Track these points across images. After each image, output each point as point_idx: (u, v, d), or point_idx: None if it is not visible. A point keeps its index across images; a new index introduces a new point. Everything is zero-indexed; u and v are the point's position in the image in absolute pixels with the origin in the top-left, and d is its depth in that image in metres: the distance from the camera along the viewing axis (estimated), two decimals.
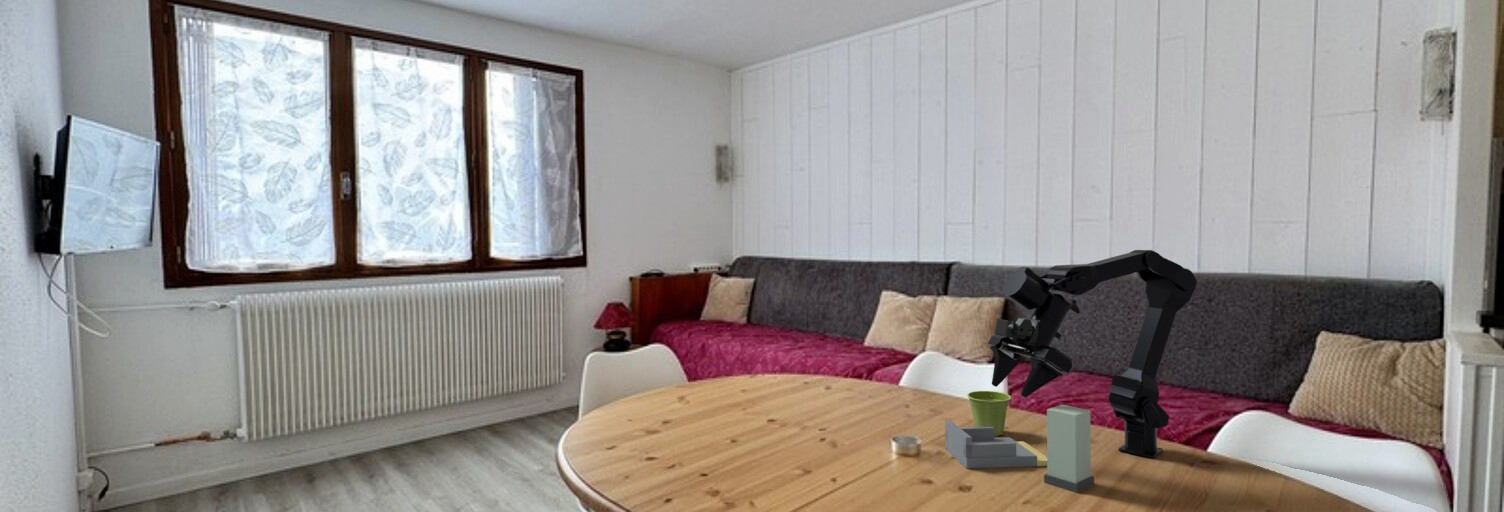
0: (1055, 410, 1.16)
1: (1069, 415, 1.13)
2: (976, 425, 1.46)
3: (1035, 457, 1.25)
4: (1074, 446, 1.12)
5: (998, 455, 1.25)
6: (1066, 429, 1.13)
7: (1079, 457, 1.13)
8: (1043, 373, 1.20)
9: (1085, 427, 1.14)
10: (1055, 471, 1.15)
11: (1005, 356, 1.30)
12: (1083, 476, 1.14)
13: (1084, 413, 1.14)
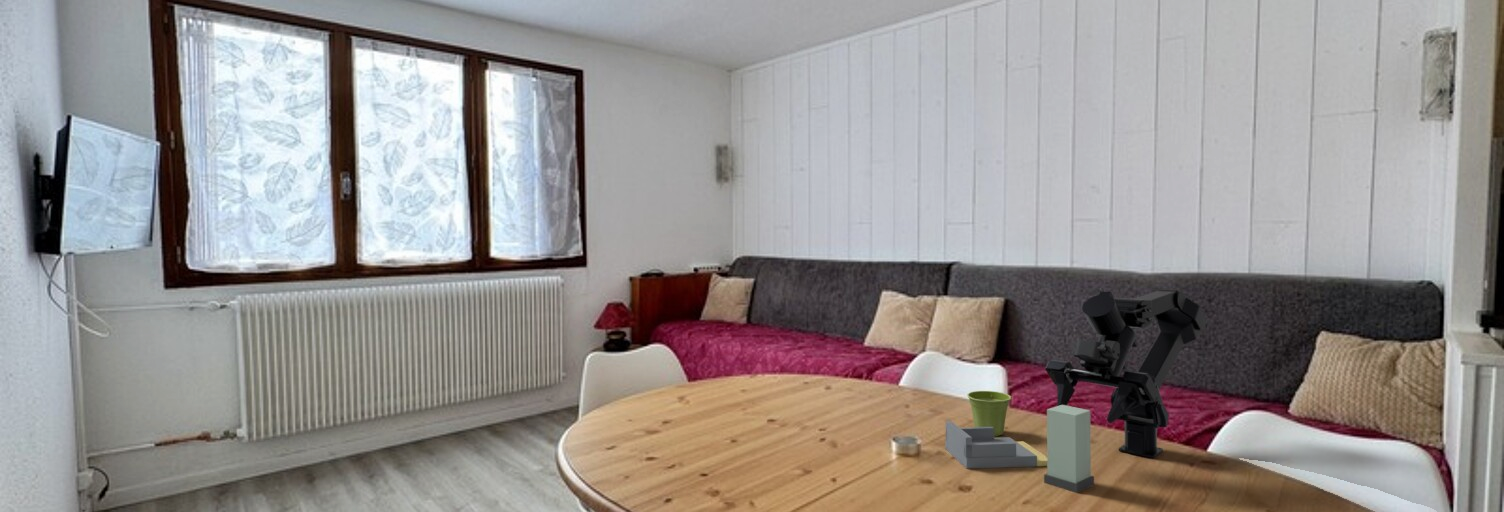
0: (1055, 410, 1.16)
1: (1069, 415, 1.13)
2: (976, 425, 1.46)
3: (1035, 457, 1.25)
4: (1074, 446, 1.12)
5: (998, 455, 1.25)
6: (1066, 429, 1.13)
7: (1079, 457, 1.13)
8: (1126, 399, 1.17)
9: (1085, 427, 1.14)
10: (1055, 471, 1.15)
11: (1067, 382, 1.25)
12: (1083, 476, 1.14)
13: (1084, 413, 1.14)
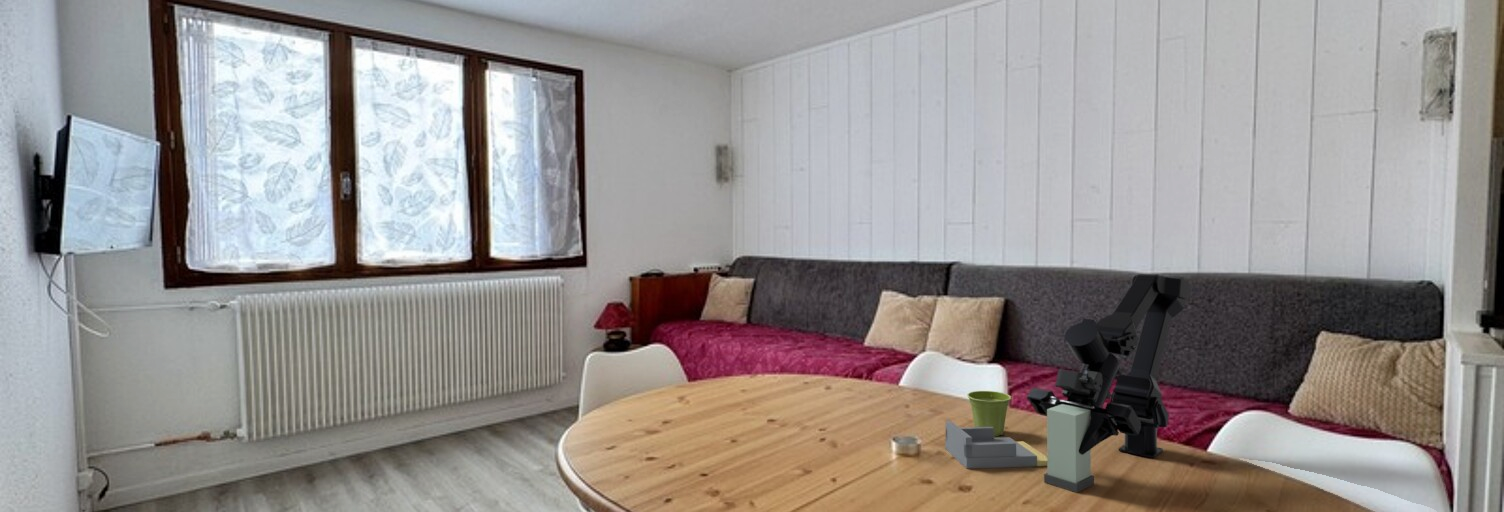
0: (1055, 410, 1.15)
1: (1069, 415, 1.13)
2: (976, 425, 1.46)
3: (1035, 457, 1.25)
4: (1074, 446, 1.12)
5: (998, 455, 1.25)
6: (1066, 429, 1.13)
7: (1079, 457, 1.13)
8: (1099, 430, 1.14)
9: (1085, 427, 1.14)
10: (1055, 470, 1.15)
11: None
12: (1083, 476, 1.14)
13: (1084, 413, 1.14)
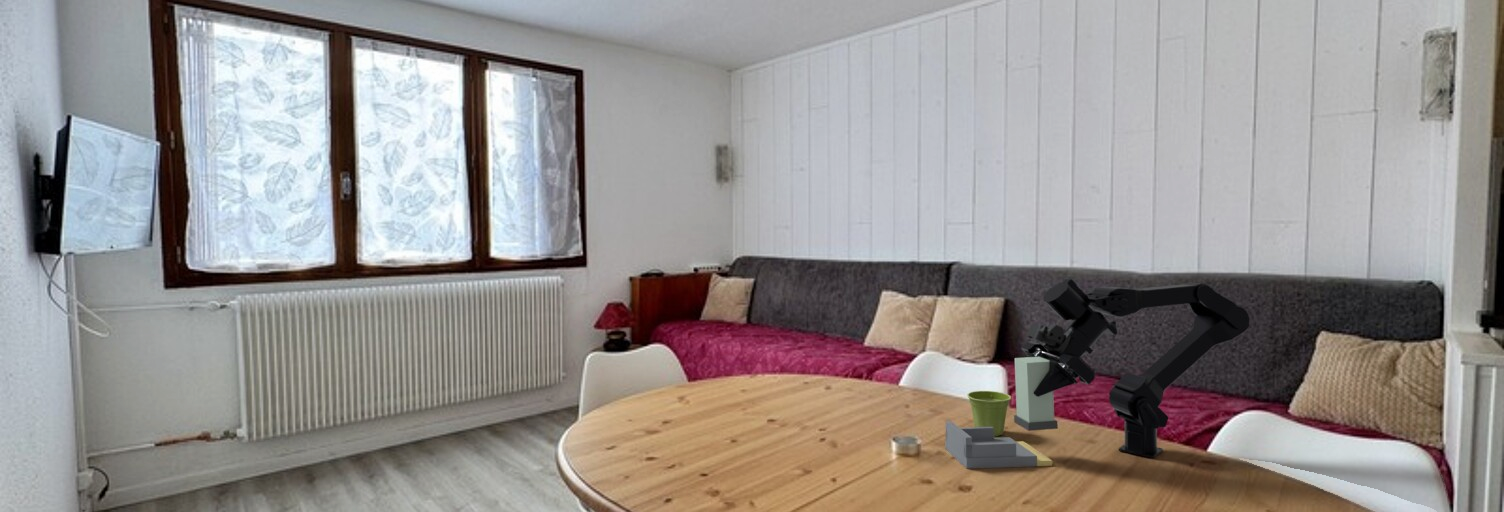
0: (1020, 359, 1.31)
1: (1024, 362, 1.28)
2: (976, 425, 1.46)
3: (1035, 457, 1.25)
4: (1027, 390, 1.28)
5: (998, 455, 1.25)
6: (1023, 375, 1.29)
7: (1035, 400, 1.28)
8: (1059, 377, 1.27)
9: (1044, 375, 1.28)
10: (1019, 412, 1.32)
11: None
12: (1042, 418, 1.28)
13: (1042, 363, 1.28)
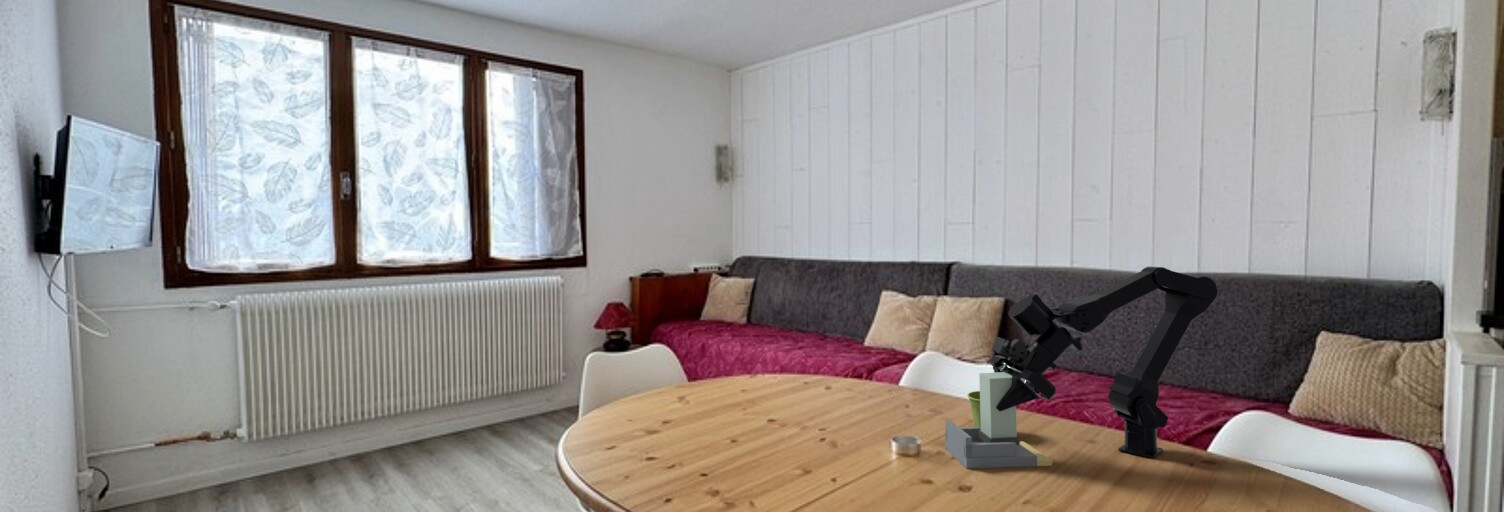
0: (984, 374, 1.32)
1: (987, 378, 1.29)
2: (976, 425, 1.46)
3: (1035, 457, 1.25)
4: (990, 406, 1.28)
5: (998, 455, 1.25)
6: (986, 390, 1.29)
7: (997, 416, 1.28)
8: (1021, 392, 1.27)
9: None
10: (983, 427, 1.32)
11: None
12: (1004, 434, 1.28)
13: (1005, 378, 1.28)
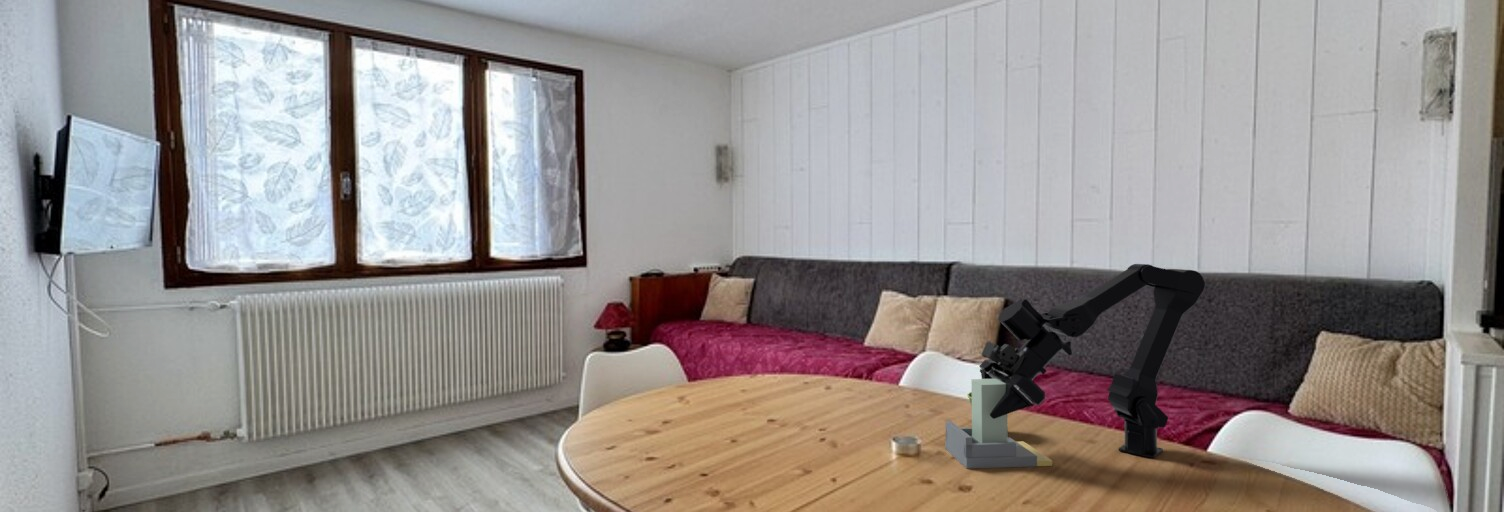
0: (976, 380, 1.32)
1: (979, 384, 1.29)
2: None
3: (1035, 457, 1.25)
4: (981, 412, 1.28)
5: (998, 455, 1.25)
6: (978, 397, 1.29)
7: (988, 422, 1.28)
8: (1015, 399, 1.25)
9: (998, 398, 1.28)
10: (974, 433, 1.32)
11: None
12: (995, 441, 1.28)
13: (997, 385, 1.28)
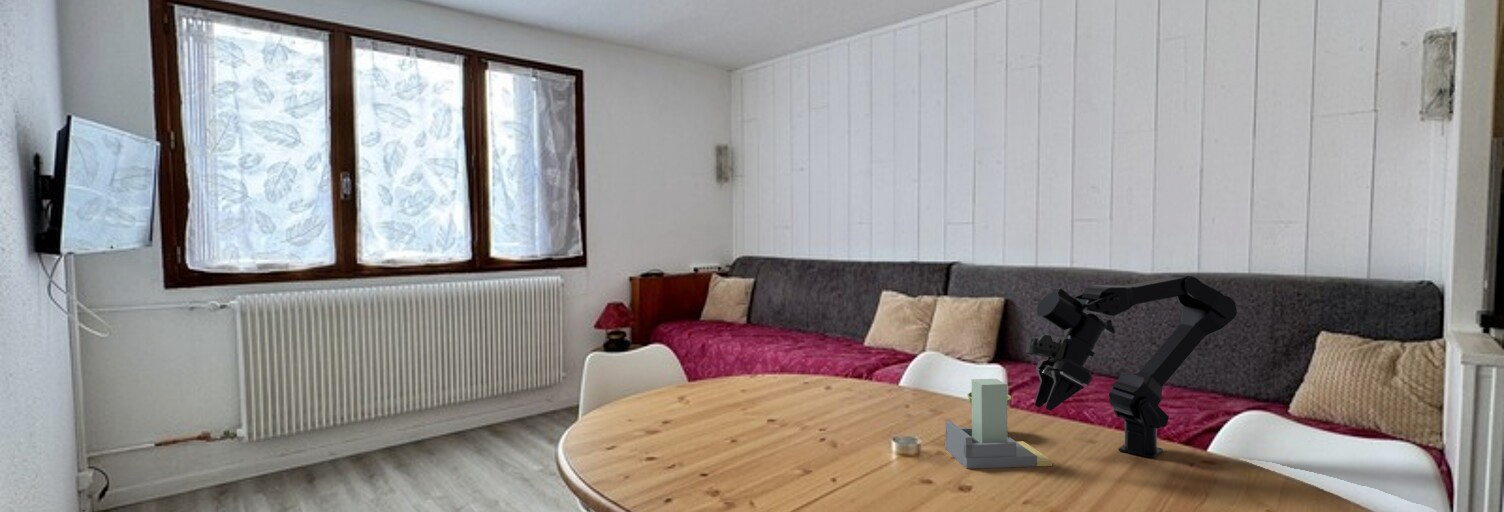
0: (976, 380, 1.32)
1: (979, 384, 1.29)
2: None
3: (1035, 457, 1.25)
4: (981, 412, 1.28)
5: (998, 455, 1.25)
6: (978, 397, 1.29)
7: (988, 422, 1.28)
8: (1066, 386, 1.24)
9: (998, 398, 1.28)
10: (974, 433, 1.32)
11: (1048, 378, 1.35)
12: (995, 441, 1.28)
13: (997, 385, 1.28)
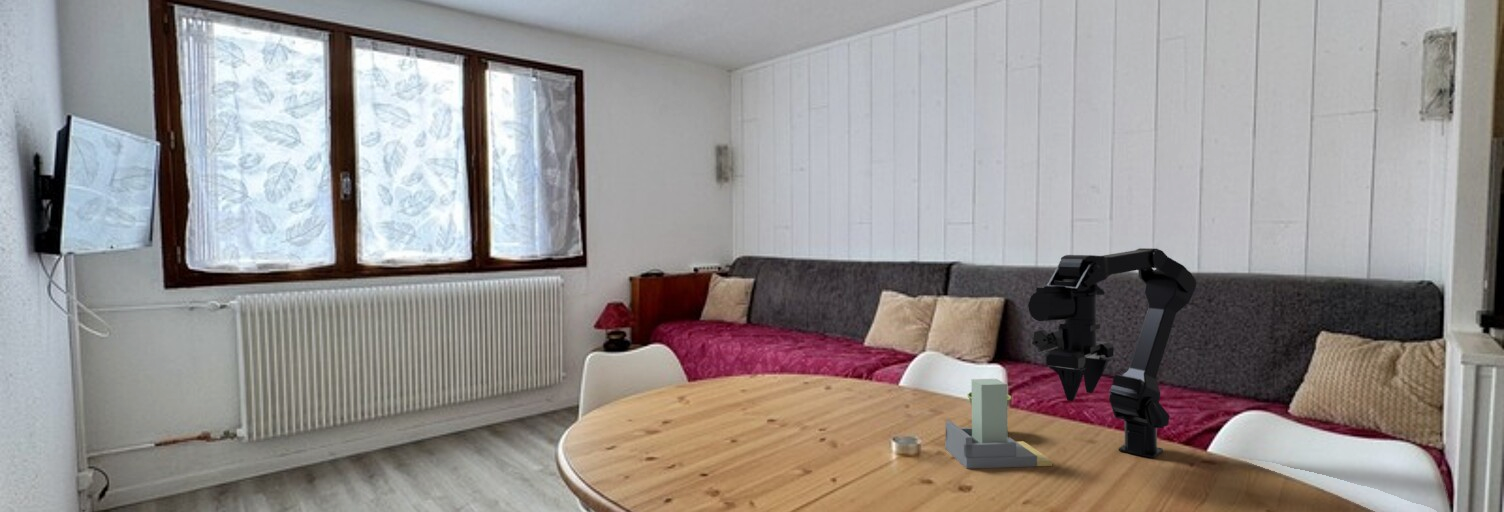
0: (976, 380, 1.32)
1: (979, 384, 1.29)
2: None
3: (1035, 457, 1.25)
4: (981, 412, 1.28)
5: (998, 455, 1.25)
6: (978, 397, 1.29)
7: (988, 422, 1.28)
8: (1070, 373, 1.22)
9: (998, 398, 1.28)
10: (974, 433, 1.32)
11: (1087, 360, 1.30)
12: (995, 441, 1.28)
13: (997, 385, 1.28)
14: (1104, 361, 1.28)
